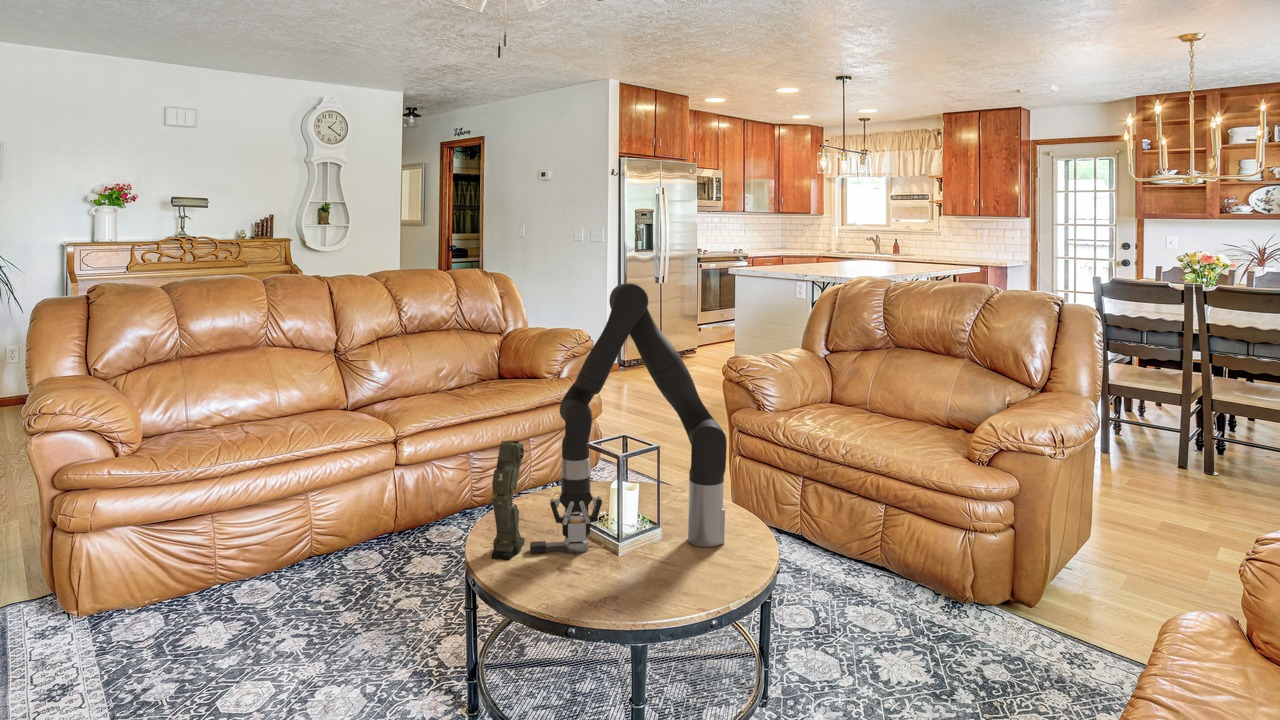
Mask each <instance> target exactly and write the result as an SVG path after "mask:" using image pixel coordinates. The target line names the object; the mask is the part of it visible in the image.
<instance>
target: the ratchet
mask: <svg viewBox="0 0 1280 720" xmlns="http://www.w3.org/2000/svg"><path fill="white" fill-rule="evenodd" d="M529 550H530V552H529V553H530V555H541V554H543V555H544V554H553V553H566V554H569V555H581V554H585V553H587V552H588V551H589V538H588V537H586V541H578V542H568V538H564V540H563V541H553V542H551V541H550V542H546V541H545V540H541V541H530V542H529Z"/></svg>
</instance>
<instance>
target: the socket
mask: <svg viewBox="0 0 1280 720" xmlns="http://www.w3.org/2000/svg"><path fill="white" fill-rule="evenodd" d="M567 524H568V542H578V541H586V522H585V519H584V516H583V513H582V512H574V513H571V514H570V517H569V519H568V522H567Z"/></svg>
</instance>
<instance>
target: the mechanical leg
mask: <svg viewBox="0 0 1280 720" xmlns="http://www.w3.org/2000/svg"><path fill="white" fill-rule="evenodd" d="M524 454H525V450H524V443H520V441H519V440H501V442H500V444H499V450H498V455H497V461H496V469H494V470H493V476H492V483H491V484H492V486H491V487H492V494H491V502H492V507H493V508H492V509H493V512H494V519H495V526H496V527H495V528H496V535H495V538H494V540H493V542H492V543H493V544H492V546H493V551H492V552H491V556H490V557H491V559H492V560H503V561H510V560H512V559H513V558H514V557H515V556H516V555H517V554H520V552H521V549H522V547H523V546H524V545H525V537H522V536H521V534H520V529H519V523H520V521H519V520H520V511H519V509H518V505H516V504H514V503H513V493H514V491H516V489H517V486H518V480H519V474H520V471H521V470H520V468H521V465H522V460H523V458H524V456H525V455H524Z"/></svg>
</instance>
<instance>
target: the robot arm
mask: <svg viewBox="0 0 1280 720" xmlns="http://www.w3.org/2000/svg"><path fill="white" fill-rule="evenodd" d="M608 300H609V307H610V309H611V310H610V313H609V316H608V319H607V321H606V324H605V325H604V328H603V330H602V331H601V332H602V333H601V334H600V336H599V337H598V338H597V340H596V342H595V343H594V345H593V347H592V348H591V350H590V352H589V353H588V355H586V356H587V357H586V358H585V360H584V362H583V364H582V366H581V368H580V370H579V372H578V375H577V377H576V379H575V381H574V382H573V384H572V385H571V386H570V388H569V389H568V391H567V392H566V393H565V395H564V396H563V398H562V400H561V401H560V402H561V403H560V405H559V416H560V417H561V419H562V420H563V421H564V424H565V426H564V427H565V428H564V429H565V431H564V436H563V438H562V440H561V441H562V442H561V465H560V467H561V468H560V469H561V470H560V471H561V472H560V474H561V475H560V476H561V478H560V482H561V483H560V487H561V493H560V495H559V498H556V499H553V498H551V499H550V500H549V503H550V504H549V505H550V507H551V511H552V514H553V517H554V521H555V523H556V524H561V525H562V527H561V529H562V530H561V531H562V536H563V537H565V538H568V524H567V522H568V519H569V517H570V514H571V513H574V512H582V513H583V516H584V519H585V522H586V537H587V538H588V537H589V536H588V535H590V534H591V523H592V522H596V521H597V519H598V517H599V514H600V511H601V507H602V503H603V500H602V497H601V496H593V495H592V494H591V474H592V473H591V471H592V470H591V462H590V461H591V460H590V438H591V437H590V436H591V433H592V432H591V431H592V424H593V413H592V409H591V407H590V405H589V404H590V402H592V400H593V397H594V396H595V395H598V394H599V393H600V392H601V391H602V389H603V387H604V385H605V383H606V381H607V379H608V376H609V375H610V373H611V370H612V368H613V366H614V365H615V362H616V361H617V360H616V359H617V358H618V355H619V354H620V351H621V350H622V348H623V346H624V344H625V342H626V340H627V339H628V337H629V336H630V337H631V339H632V341H633V343H634V345H635V347H636V349H637V352H638V354H639V355H640V358H641V360H642V362H643V364H644V366H645V368H646V370H647V371H648V373H649V375H650V377H651V379H652V380H653V382H654V383H655V385H656V387H657V389H658V390H659V392H660V393H661V395H662V396H663V397H664V399H665V400H666V401H667V402H668V403H669V404H670V405H671V408H672V409H673V410H675V412H676V414H677V415H678V417H679V419H680V421H681V423H682V426H683V428H684V430H685V433H686V435H687V438H688V440H689V443H690V446H691V448H690V449H691V451H690V452H691V455H690V456H691V459H690V469H689V471H688V473H689V480H688V481H689V482H688V522H687V528H688V529H687V540H688V541H687V542H689V544H690V545H693V546H695V547H699V548H701V547H702V548H712V547H717V546H720V545H724V544H725V536H726V535H725V531H726V529H725V527H726V509H725V508H724V486H725V485H724V483H725V482H724V481H725V479H724V478H725V473H726V468H727V466H726V465H727V435H726V433H725V432H724V430H723V428H722V427H721V426H720V424H719V423H718V422H717V421H716V420H715V418H714V417H713V415H712V414H711V413H710V412H709V410H708V408H707V407H706V406H705V405H704V403H703V401H702V398H700V395H699V393H698V391H697V387H696V385H695V382H694V380H693V378H692V376H691V373H690V371H689V370H688V367H687V366H686V364H685V363H684V362H685V361H684V360H683V359H682V357H681V356H680V354H679V352H678V351H677V350H676V347H674V345H673V344H672V343H671V341H670V340H669V338H667V337H666V335H665V334H664V333H663V332H662V330H661V329H660V328H659V327H658V326H657V324H656V322H655V321H654V318H653V317H652V314H651V313H650V310H649V309H648V306H649V297H648V293H647V291H646V290H645V288H644V287H642V286H641V285H639V284H636V283H631V282H628V283H621V284H618V285H616V286H615V288H613V289H612V290H611V292H610V295H609V299H608ZM587 443H589V444H588V445H587ZM560 503H561V505H562V506H563V507H564V511H563V515H562V516H560V514H559V511H558V508H559V507H560ZM590 503H592V505H593V509H592V512H591V514H590V515H589V513H588V510H587V508H588V507H589V506H590ZM565 538H564V539H565Z"/></svg>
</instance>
